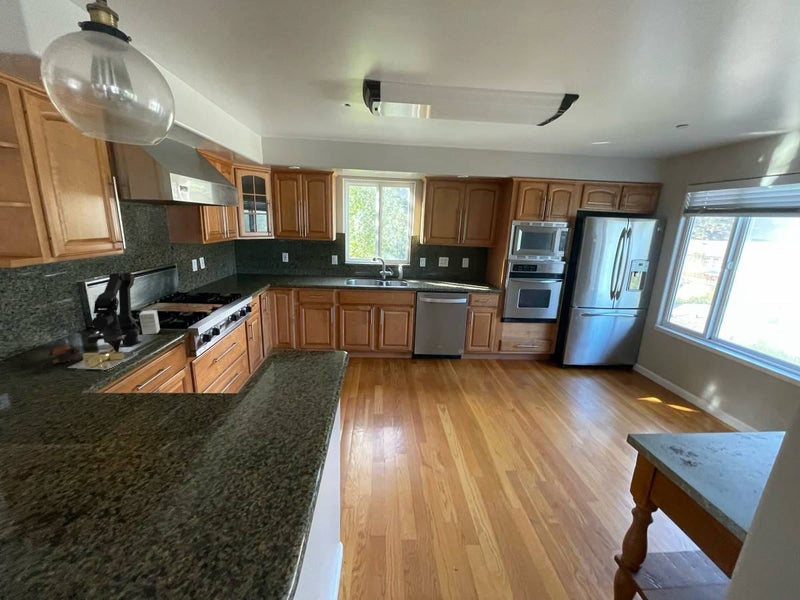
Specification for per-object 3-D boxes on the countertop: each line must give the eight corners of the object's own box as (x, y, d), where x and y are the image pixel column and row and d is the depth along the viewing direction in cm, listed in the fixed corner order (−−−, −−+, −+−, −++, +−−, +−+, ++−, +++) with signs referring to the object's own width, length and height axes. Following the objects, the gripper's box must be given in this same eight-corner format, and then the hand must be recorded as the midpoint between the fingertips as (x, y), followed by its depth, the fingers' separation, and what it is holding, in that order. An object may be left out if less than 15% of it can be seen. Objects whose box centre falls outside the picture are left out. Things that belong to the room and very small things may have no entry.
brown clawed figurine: (45, 367, 150) (40, 350, 151) (60, 367, 159) (55, 351, 160) (76, 357, 154) (72, 341, 155) (89, 358, 163) (84, 342, 164)
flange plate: (101, 353, 165) (101, 350, 164) (138, 354, 165) (137, 351, 164) (66, 370, 147) (65, 366, 147) (107, 371, 147) (106, 367, 147)
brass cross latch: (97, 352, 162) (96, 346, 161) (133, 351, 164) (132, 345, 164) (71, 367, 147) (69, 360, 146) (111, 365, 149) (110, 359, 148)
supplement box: (145, 330, 197) (142, 310, 194) (160, 329, 200) (157, 309, 197) (142, 334, 191) (138, 314, 188) (157, 333, 194) (154, 313, 191)
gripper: (79, 330, 146) (87, 362, 150) (132, 323, 155) (138, 354, 159) (86, 323, 155) (94, 353, 159) (136, 317, 164) (142, 346, 168)
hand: (117, 352), depth 161 cm, fingers closed
